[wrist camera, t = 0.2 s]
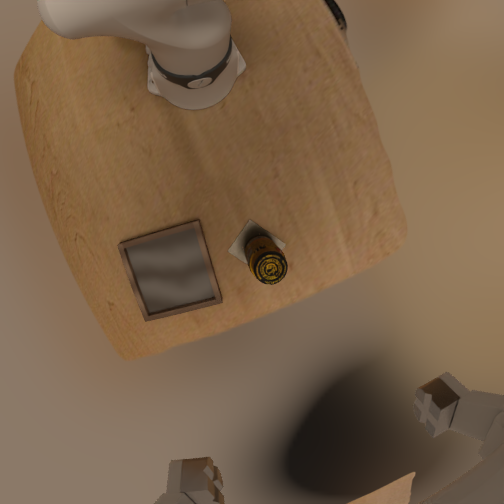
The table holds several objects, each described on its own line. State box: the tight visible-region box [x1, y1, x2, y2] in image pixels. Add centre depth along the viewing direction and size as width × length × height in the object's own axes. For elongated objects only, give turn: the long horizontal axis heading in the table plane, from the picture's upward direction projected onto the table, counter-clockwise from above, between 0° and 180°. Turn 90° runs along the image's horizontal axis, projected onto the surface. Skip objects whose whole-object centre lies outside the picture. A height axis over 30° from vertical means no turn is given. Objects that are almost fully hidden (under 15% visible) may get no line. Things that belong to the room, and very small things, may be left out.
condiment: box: [228, 220, 288, 285], centre depth 50 cm, size 7×8×12 cm
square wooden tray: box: [117, 220, 223, 322], centre depth 53 cm, size 16×16×2 cm
